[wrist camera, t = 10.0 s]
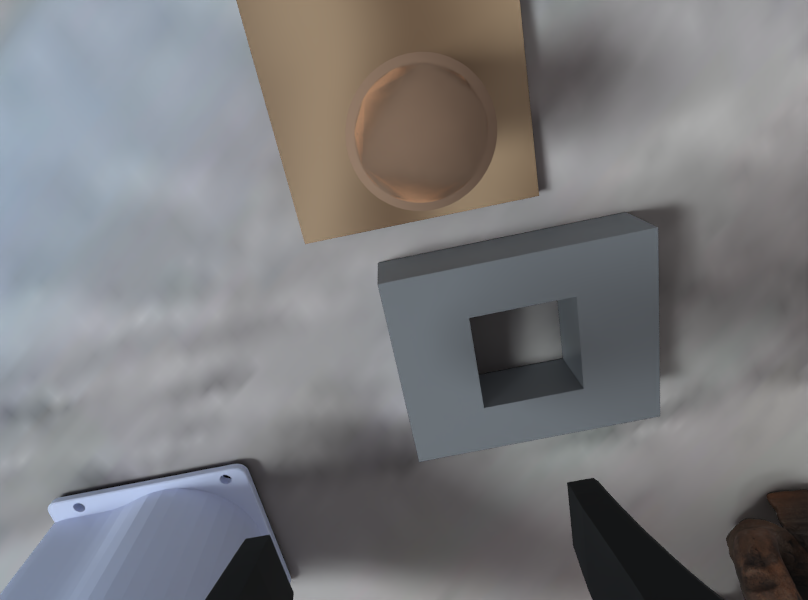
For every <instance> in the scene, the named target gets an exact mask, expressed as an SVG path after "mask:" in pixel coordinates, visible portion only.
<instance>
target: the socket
mask: <svg viewBox="0 0 808 600" xmlns="http://www.w3.org/2000/svg"><path fill="white" fill-rule="evenodd" d="M378 288H379V292H380V297H381V301H382V305H383V309H384V314H385V318H386V322H387V327H388V331H389V335H390V339H391V344H392V348H393V352H394V356H395V361H396V365H397V369H398V373H399V378H400V382H401V386H402V391H403V395H404V399H405V403H406V408H407V412H408V416H409V420H410V425H411V429H412V433H413V438H414V442H415V446H416V450H417V455H418V459H419V462H422V461H427V460H432V459H437V458H443V457H448V456H453V455H458V454H464V453H469V452H474V451H479V450H485V449H490V448H495V447H500V446H506V445H511V444H516V443H522V442H527V441H532V440H537V439H543V438H548V437H553V436H558V435H564V434H569V433H574V432H579V431H585V430H590V429H595V428H600V427H606V426H611V425H616V424H621V423H627V422H632V421H637V420H643V419H648V418H653V417H658V416H660V352H659V260H658V227H656V226H654V225H652V224H650V223H648V222H646V221H644V220H642V219H639V218H637V217H635V216H633V215H631V214H629V213H627V212H625V213H620V214H615V215H610V216H605V217H600V218H595V219H590V220H586V221H581V222H576V223H571V224H566V225H561V226H556V227H551V228H546V229H542V230H537V231H532V232H527V233H522V234H517V235H512V236H507V237H502V238H497V239H493V240H488V241H483V242H478V243H473V244H468V245H463V246H458V247H453V248H449V249H444V250H439V251H434V252H429V253H424V254H419V255H414V256H409V257H405V258H400V259H395V260H390V261H385V262H380V263H378ZM557 300H558V311H559V322H560V332H561V343H562V354H563V359H558V360H553V361H548V362H543V363H538V364H533V365H527V366H522V367H517V368H512V369H507V370H502V371H497V372H492V373H486V374H481V375H478V369H477V363H476V357H475V351H474V345H473V339H472V333H471V327H470V321H469V318H472V317H477V316H482V315H487V314H492V313H497V312H502V311H507V310H512V309H517V308H522V307H527V306H532V305H537V304H542V303H547V302H552V301H557Z"/></svg>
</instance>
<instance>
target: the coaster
mask: <svg viewBox="0 0 808 600" xmlns="http://www.w3.org/2000/svg"><path fill="white" fill-rule="evenodd" d="M236 1H237V4H238V8H239V12H240V15H241V19H242V22H243V26H244V29H245V33H246V36H247V40H248V43H249V47H250V50H251V54H252V58H253V61H254V65H255V68H256V72H257V75H258V79H259V82H260V86H261V89H262V93H263V96H264V100H265V104H266V107H267V111H268V114H269V118H270V121H271V125H272V128H273V132H274V135H275V139H276V142H277V146H278V150H279V153H280V157H281V160H282V164H283V167H284V171H285V174H286V178H287V181H288V185H289V188H290V192H291V196H292V199H293V203H294V206H295V210H296V213H297V217H298V220H299V224H300V227H301V231H302V234H303V238H304V242H305V244H308V243H313V242H317V241H322V240H327V239H332V238H337V237H342V236H346V235H351V234H356V233H361V232H366V231H371V230H375V229H380V228H385V227H390V226H395V225H400V224H405V223H409V222H414V221H419V220H424V219H429V218H434V217H438V216H443V215H448V214H453V213H458V212H463V211H467V210H472V209H477V208H482V207H487V206H492V205H496V204H501V203H506V202H511V201H516V200H521V199H525V198H530V197H535V196H539V191H538V180H537V170H536V160H535V150H534V140H533V130H532V120H531V110H530V100H529V90H528V79H527V69H526V59H525V49H524V39H523V29H522V19H521V9H520V0H236ZM413 52H432V53H438V54H442V55H445V56H448V57H451V58H453V59H455V60H457V61H459V62H461V63H462V64H464V65H465V66H467V67H468V68H469V69H470V70H471V71H472V72H473V73H475V74H476V76H477V77H478V78H479V79H480V80H481V82H482V83H483V84H484V86H485V88H486V89H487V91H488V93H489V95H490V97H491V99H492V102H493V105H494V109H495V113H496V119H497V142H496V147H495V152H494V155H493V158H492V161H491V163H490V165H489V167H488V169H487V171H486V173H485V174H484V176H483V177H482V179H481V180H480V181H479V183H478V184H477V185H476V186H475V187H474V188H473V189H472V190H471V191H470V192H469V193H468V194H467V195H465V196H464V197H462V198H461V199H460V200H458V201H456V202H454V203H452V204H450V205H448V206H445V207H443V208H439V209H435V210H429V211H411V210H405V209H401V208H397V207H395V206H392V205H390V204H387V203H386V202H384V201H382V200H380V199H379V198H378V197H376V196H375V195H374V194H372V193H371V192H370V191H369V190H368V189H367V188H366V187H365V186H364V184H363V183H362V182H361V180H360V179H359V178H358V176H357V174H356V173H355V171H354V169H353V167H352V164H351V162H350V159H349V156H348V152H347V147H346V138H345V128H346V119H347V114H348V110H349V107H350V104H351V101H352V99H353V97H354V95H355V93H356V91H357V89H358V88H359V87H360V85H361V84H362V82H363V81H364V80H365V79H366V78H367V76H368V75H369V74H370V73H371V72H372V71H374V70H375V69H376V68H377V67H378V66H380V65H382V64H383V63H385V62H386V61H388V60H390V59H392V58H395V57H397V56H400V55H403V54H407V53H413Z"/></svg>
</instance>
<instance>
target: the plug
mask: <svg viewBox="0 0 808 600" xmlns="http://www.w3.org/2000/svg"><path fill="white" fill-rule="evenodd" d="M345 138H346V147H347V152H348V156H349V159H350V162H351V164H352V167H353V169H354V171H355V173H356V174H357V176H358V178H359V179H360V180H361V182H362V183H363V184H364V186H365V187H366V188H367V189H368V190H369V191H370V192H371V193H372V194H374V195H375V196H376V197H378V198H379V199H380V200H382V201H384V202H386V203H387V204H390V205H392V206H395V207H397V208H401V209H405V210H411V211H429V210H435V209H439V208H443V207H445V206H448V205H450V204H452V203H454V202H456V201H458V200H460V199H461V198H462V197H464V196H465V195H467V194H468V193H469V192H470V191H471V190H472V189H473V188H474V187H475V186H476V185H477V184H478V183H479V181H480V180H481V179H482V177H483V176H484V174H485V173H486V171H487V169H488V167H489V165H490V163H491V161H492V158H493V155H494V152H495V147H496V142H497V119H496V113H495V109H494V105H493V102H492V99H491V97H490V95H489V93H488V91H487V89H486V88H485V86H484V84H483V83H482V82H481V80H480V79H479V78H478V77H477V76H476V74H475V73H473V72H472V71H471V70H470V69H469V68H468V67H467V66H465V65H464V64H462V63H461V62H459V61H457V60H455V59H453V58H451V57H448V56H445V55H442V54H438V53H432V52H413V53H407V54H403V55H400V56H397V57H395V58H392V59H390V60H388V61H386V62H385V63H383V64H382V65H380V66H378V67H377V68H376V69H375V70H374V71H372V72H371V73H370V74H369V75H368V76H367V78H366V79H365V80H364V81H363V82H362V84H361V85H360V87H359V88H358V89H357V91H356V93H355V95H354V97H353V99H352V101H351V104H350V107H349V110H348V114H347V119H346V128H345Z"/></svg>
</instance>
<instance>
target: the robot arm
mask: <svg viewBox="0 0 808 600" xmlns="http://www.w3.org/2000/svg"><path fill="white" fill-rule="evenodd" d="M223 475H228V476H230V477H231V478H226V477H224V476H223ZM567 485H568V496H569V506H570V517H571V527H572V538H573V546H574V549H575V552H576V555H577V558H578V561H579V564H580V567H581V570H582V573H583V576H584V578H585V581H586V584H587V587H588V590H589V592H590V594H591V597H592V599H593V600H724V599H722V598H721V597H720V596H718V595H717V594H716V593H715V592H714V591H712V590H711V589H710V588H709V587H707V586H706V585H705V584H704V583H703V582H702V581H700V580H699V579H698V578H697V577H696V576H695V575H693V574H692V573H691V572H690V571H689V570H687V569H686V568H685V567H684V566H683V565H682V564H681V563H679V562H678V561H677V560H676V559H675V558H674V557H673V556H672V555H671V554H669V553H668V552H667V551H666V550H665V549H664V548H663V547H662V546H661V545H660V544H659V543H658V542H657V541H656V540H655V539H653V538H652V537H651V536H650V535H649V534H648V533H647V532H646V531H645V530H644V529H643V528H642V527H641V526H640V525H639V524H638V523H637V522H636V521H635V520H634V519H633V518H632V517H631V516H630V515H629V514H628V513H627V512H626V511H625V510H624V509H623V508H622V507H621V506H620V505H619V504H618V503H617V502H616V500H615V499H614V498H613V497H612V496H611V495H610V494H609V493H608V492H607V491H606V490H605V488H604V487H603V486H602V485H601V484H600V483H599V482H598V481H597V480H596V479H594V478H591V479H585V480H579V481H573V482H568V483H567ZM81 504H83V505H84V506H83V505H81ZM48 512H49V514H50V515H51V517H52V519H53V520H54V522H55V523H54V524H53V526H52V527H51V528H50V530H49V531H48V532H47V533H46V535H45V536H44V537H43V539H42V540H41V541H40V543H39V544H38V545H37V547H36V548H35V549H34V551H33V552H32V553H31V554H30V556H29V557H28V558H27V560H26V561H25V562H24V564H23V565H22V566H21V568H20V569H19V570H18V571H17V573H16V574H15V575H14V577H13V578H12V579H11V581H10V582H9V583H8V585H7V586H6V587H5V589H4V590H3V591H2V592H1V594H0V600H293V594H294V593H293V590H292V588H291V585H290V582H291V576H290V574H289V571H288V569H287V566H286V564H285V561H284V559H283V556H282V554H281V551H280V549H279V546H278V543H277V541H276V538H275V536H274V533H273V531H272V528H271V526H270V523H269V521H268V518H267V516H266V513H265V511H264V508H263V506H262V503H261V500H260V498H259V495H258V493H257V490H256V488H255V485H254V483H253V480H252V478H251V475H250V473H249V470H248V469H247V467H245V466H244V465H242V464H231V465H226V466H221V467H216V468H210V469H205V470H200V471H195V472H190V473H184V474H179V475H174V476H169V477H164V478H158V479H153V480H148V481H143V482H138V483H132V484H127V485H122V486H117V487H112V488H106V489H101V490H96V491H91V492H86V493H81V494H75V495H70V496H65V497H60V498H56V499H54V500H53V501H52V503H51V504H50V505H49V506H48Z"/></svg>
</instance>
